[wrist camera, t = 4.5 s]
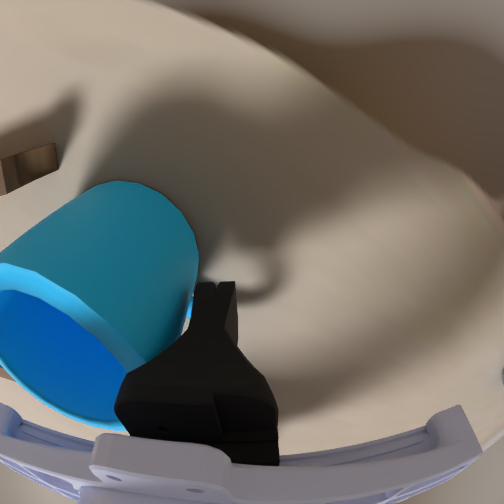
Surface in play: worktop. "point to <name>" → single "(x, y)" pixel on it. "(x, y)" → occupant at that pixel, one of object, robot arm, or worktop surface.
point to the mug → (95, 297)
